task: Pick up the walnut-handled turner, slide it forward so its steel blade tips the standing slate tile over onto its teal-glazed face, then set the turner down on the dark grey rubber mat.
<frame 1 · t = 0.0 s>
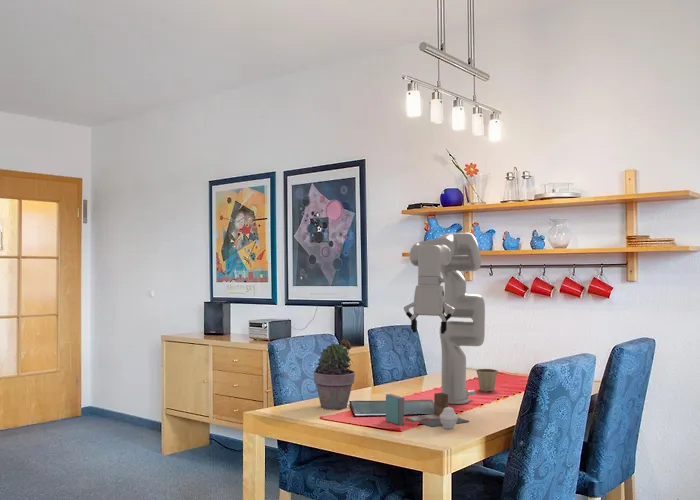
hand: (428, 332, 230), 31 cm above the table, tool pointing down, fingers open, 9 cm apart
turner: (441, 416, 245), on the table
flower pot: (486, 390, 297), on the table
mat: (444, 422, 236), on the table
potted plant: (332, 408, 258), on the table
muffin: (448, 428, 228), on the table
tile: (394, 422, 235), on the table
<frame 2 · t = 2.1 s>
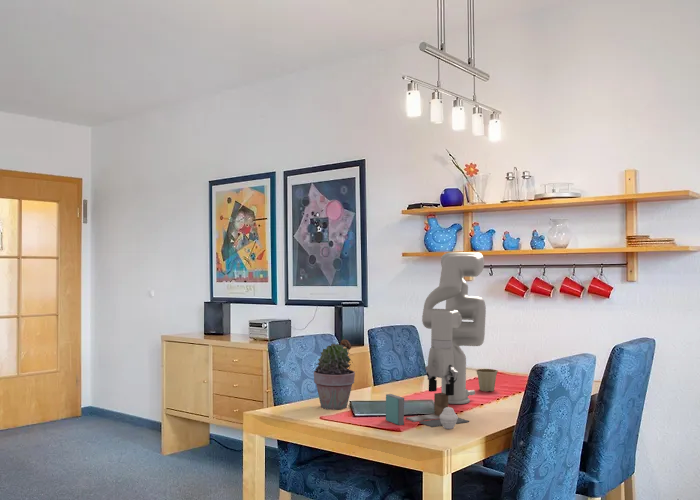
hand: (441, 393, 245), 8 cm above the table, tool pointing down, fingers open, 9 cm apart
nothing on the table moved.
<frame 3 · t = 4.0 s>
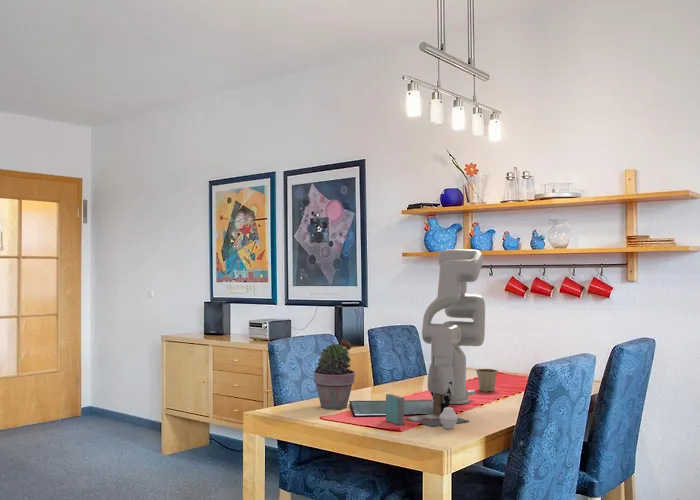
hand: (441, 412, 245), 1 cm above the table, tool pointing down, fingers closed on turner, 3 cm apart
turner: (441, 416, 245), on the table, touching gripper
everything else where it was.
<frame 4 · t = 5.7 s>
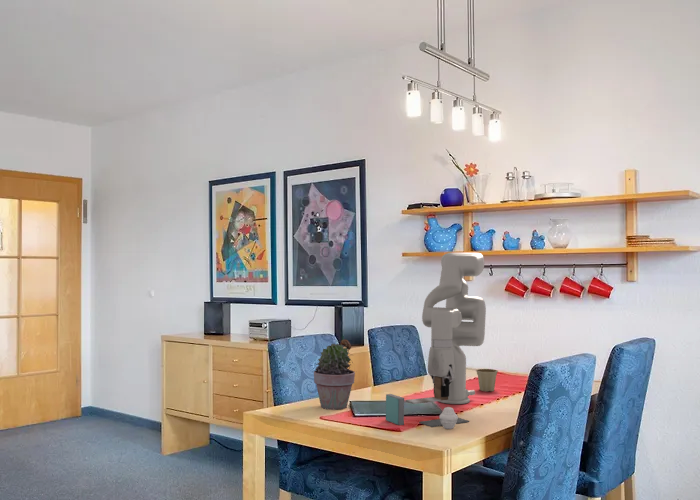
hand: (441, 395, 245), 7 cm above the table, tool pointing down, fingers closed on turner, 3 cm apart
turner: (441, 399, 245), point 6 cm above the table, touching gripper
everything else where it was.
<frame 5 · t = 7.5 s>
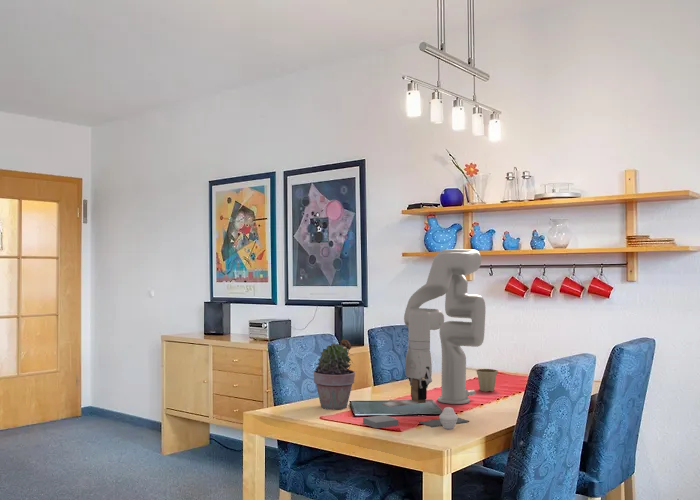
hand: (418, 397, 240), 7 cm above the table, tool pointing down, fingers closed on turner, 3 cm apart
turner: (418, 402, 240), point 6 cm above the table, touching gripper
tile: (391, 420, 234), point 1 cm above the table, tilted 90°
everything else where it was.
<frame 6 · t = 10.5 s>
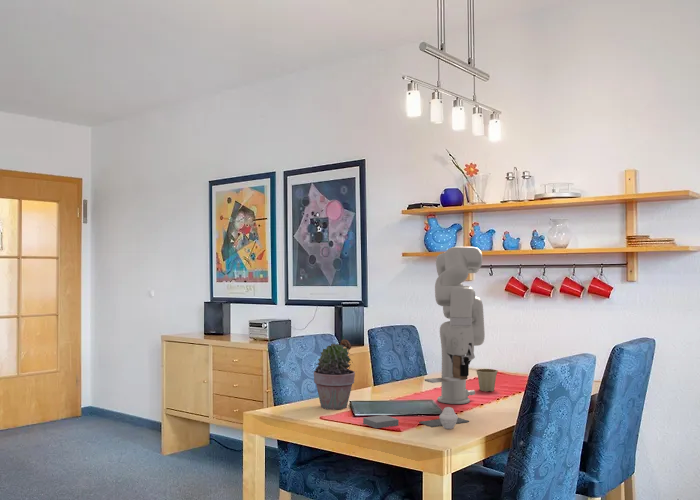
hand: (460, 374, 240), 16 cm above the table, tool pointing down, fingers closed on turner, 3 cm apart
turner: (460, 378, 240), point 14 cm above the table, touching gripper
everything else where it was.
when the fingers open (3 cm above the table, at t = 13.3 s): turner drops 1 cm, resting on mat.
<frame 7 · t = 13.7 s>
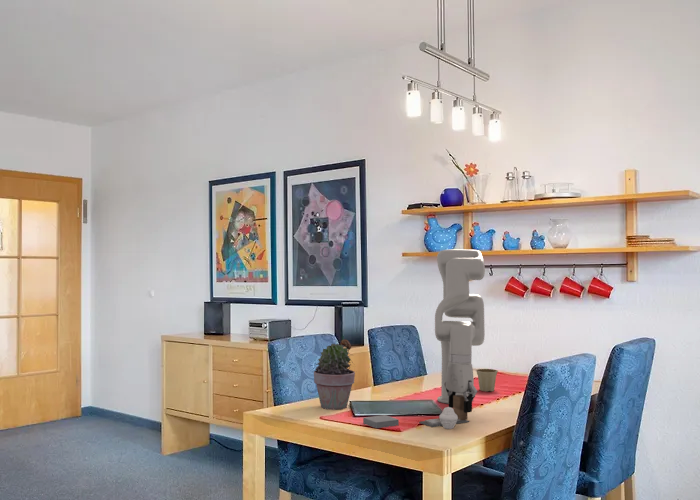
hand: (460, 409, 239), 4 cm above the table, tool pointing down, fingers open, 7 cm apart
turner: (460, 419, 240), resting on mat
everything else where it was.
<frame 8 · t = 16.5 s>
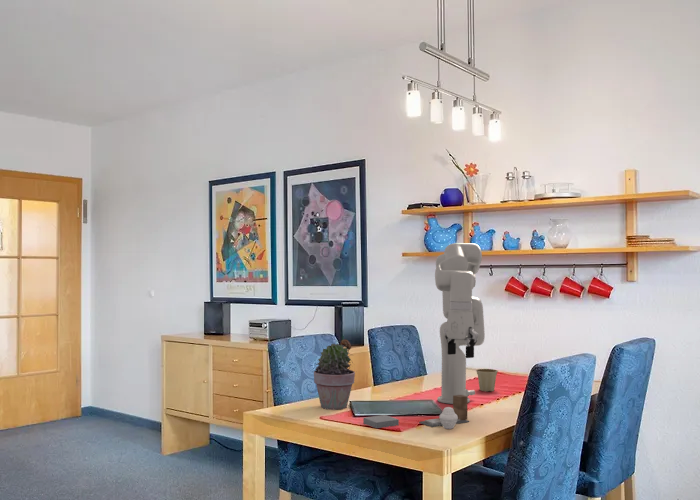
hand: (460, 355, 240), 22 cm above the table, tool pointing down, fingers open, 9 cm apart
nothing on the table moved.
at the end: tile tilted 90°; turner inside the target area on the mat (7.1 cm from its centre), point 0.4 cm above the mat's base; the gripper is holding nothing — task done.
